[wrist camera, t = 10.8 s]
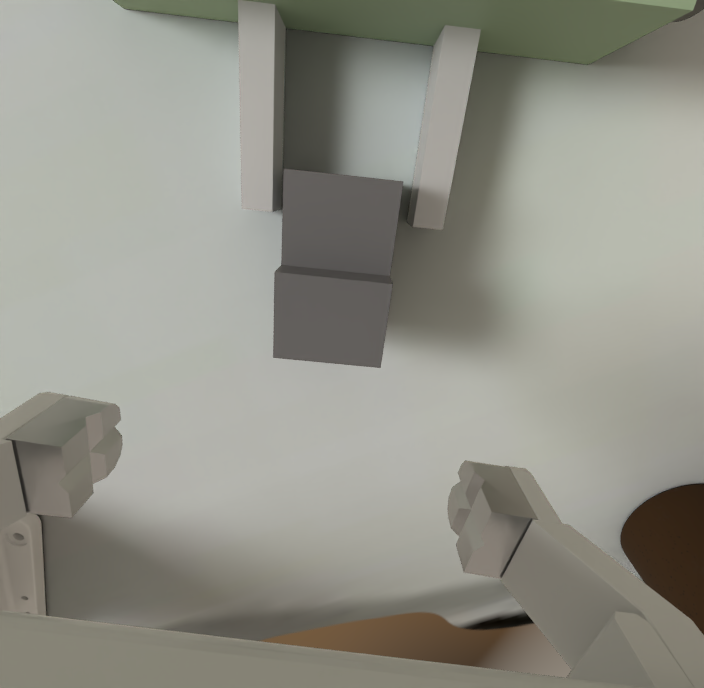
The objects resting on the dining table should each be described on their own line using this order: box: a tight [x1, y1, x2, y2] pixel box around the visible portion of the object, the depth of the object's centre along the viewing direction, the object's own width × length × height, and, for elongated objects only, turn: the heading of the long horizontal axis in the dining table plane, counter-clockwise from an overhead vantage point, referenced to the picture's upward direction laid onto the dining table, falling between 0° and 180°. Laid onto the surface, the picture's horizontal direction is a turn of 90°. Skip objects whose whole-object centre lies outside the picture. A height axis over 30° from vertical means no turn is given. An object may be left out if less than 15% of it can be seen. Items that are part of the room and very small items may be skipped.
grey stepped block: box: [273, 169, 403, 368], centre depth 18 cm, size 8×5×6 cm, turn 174°
